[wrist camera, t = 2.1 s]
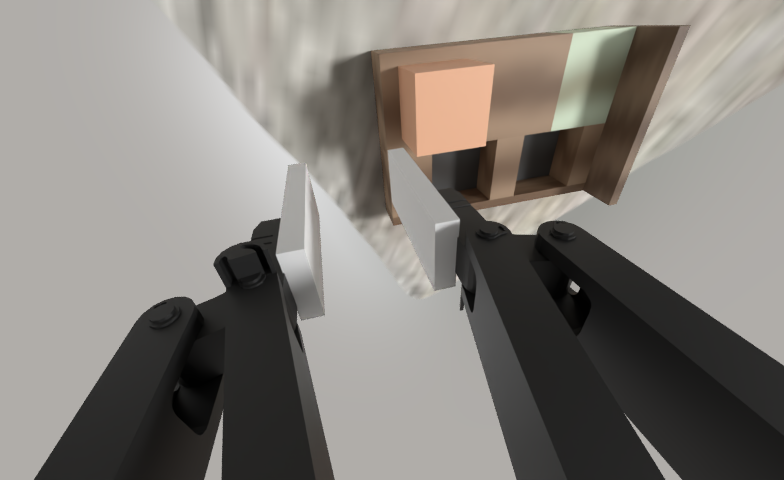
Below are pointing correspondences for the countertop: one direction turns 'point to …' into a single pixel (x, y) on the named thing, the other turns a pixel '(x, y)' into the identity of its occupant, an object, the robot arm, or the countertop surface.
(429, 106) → the block
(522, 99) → the box
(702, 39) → the countertop surface
